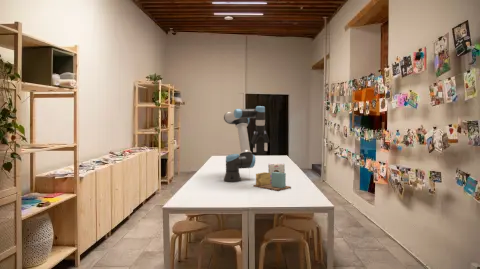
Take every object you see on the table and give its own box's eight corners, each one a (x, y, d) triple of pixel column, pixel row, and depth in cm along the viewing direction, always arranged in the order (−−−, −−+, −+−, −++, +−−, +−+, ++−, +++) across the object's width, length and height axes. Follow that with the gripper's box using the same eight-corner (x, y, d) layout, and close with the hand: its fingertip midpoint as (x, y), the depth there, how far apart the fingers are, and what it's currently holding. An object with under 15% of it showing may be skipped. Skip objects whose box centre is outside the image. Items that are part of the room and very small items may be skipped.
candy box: (284, 182, 312) (284, 163, 311) (284, 183, 306) (284, 164, 305) (268, 181, 313) (268, 163, 313) (268, 183, 308) (268, 164, 307)
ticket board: (253, 186, 294) (253, 173, 293) (266, 183, 305) (266, 171, 304) (278, 191, 275) (278, 177, 275) (291, 188, 287) (291, 175, 286)
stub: (271, 186, 287) (271, 172, 286) (275, 185, 290) (275, 171, 290) (281, 187, 280) (281, 173, 279) (285, 187, 283) (285, 172, 283)
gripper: (253, 125, 279) (253, 152, 281) (273, 125, 297) (273, 150, 298) (246, 125, 285) (246, 152, 286) (266, 124, 302) (266, 150, 304)
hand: (260, 151), depth 292 cm, fingers open, 13 cm apart
